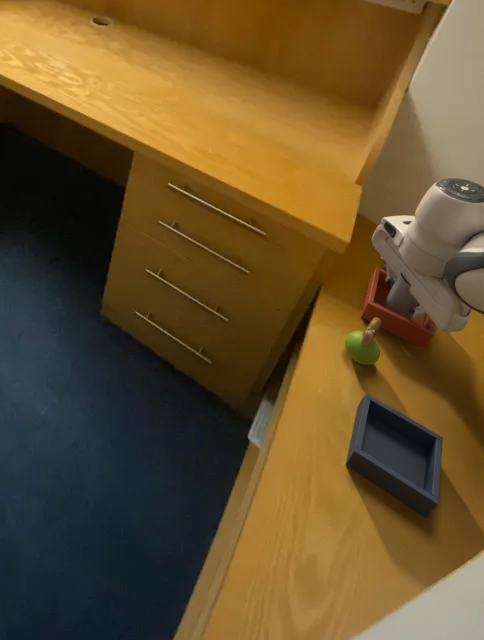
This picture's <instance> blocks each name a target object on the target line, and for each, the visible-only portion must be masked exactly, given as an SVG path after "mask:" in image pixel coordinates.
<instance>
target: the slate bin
mask: <svg viewBox="0 0 484 640" xmlns="http://www.w3.org/2000/svg"><path fill="white" fill-rule="evenodd" d="M443 443H444V436H442V435H440V434H439V433H437V432H435V431H433V430H432V429H429V428H428V427H426V426H424V425H422V424H421V423H419V422H417V421H415V420H414V419H412V418H410V417H409V416H407V415H405V414H403V413H402V412H400V411H398V410H397V409H395V408H393V407H392V406H389V405H388V404H386V403H384V402H383V401H381V400H380V399H377V398H376V397H374V396H372V395H371V394H369V393H367V392H365V393H364V395H363V396H362V398H361V401H360V402H359V404H358V406H357V408H356V412H355V418H354V422H353V426H352V431H351V437H350V443H349V446H348V451H347V456H346V461H345V466H346V467H348V468H349V469H351V470H352V471H354V472H356V473H357V474H358V475H360V476H362V477H363V478H364V479H366V480H367V481H369V482H371V483H372V484H374V485H376V486H377V487H378V488H380V489H381V490H383V491H385V492H386V493H388V494H389V495H391V496H392V497H393V498H395V499H396V500H397V501H399V502H401V503H403V504H404V505H406V506H407V507H409V508H410V509H411V510H413V511H415V512H416V513H418V514H419V515H420V516H422V517H424V518H426V519H427V518H428V517H429V516H430V515H431V513H433V511H434V510H435V509H437V507H438V505H439V501H440V500H439V498H440V485H441V473H442V472H441V469H442V457H443V456H442V455H443Z"/></svg>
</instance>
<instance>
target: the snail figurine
mask: <svg viewBox="0 0 484 640" xmlns="http://www.w3.org/2000/svg"><path fill="white" fill-rule="evenodd" d="M380 329H381V320H380V319H379V318H377V317H375V318H374V319H373V320H372V321H371V322H370V321H369V324H368V325H367V326H366V328H365V330H364V331H361V330H354V331H351V332H349V333H348V334H347V336H346V338H345V339H344V347H345V351H346V353H347V354H348V355H349V357H350V358H351V359H352V360H353V361H354V362H355V363H358V364H360V365H362V366H363V365H364V366H371V365H373V364H375V363H377V362H378V361H379V359H380V356H381V350H380V349H381V348H380V345H379V344H378V342H377V340H376V339H375V338H376V337H377V335H378V333H379V331H380Z"/></svg>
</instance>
